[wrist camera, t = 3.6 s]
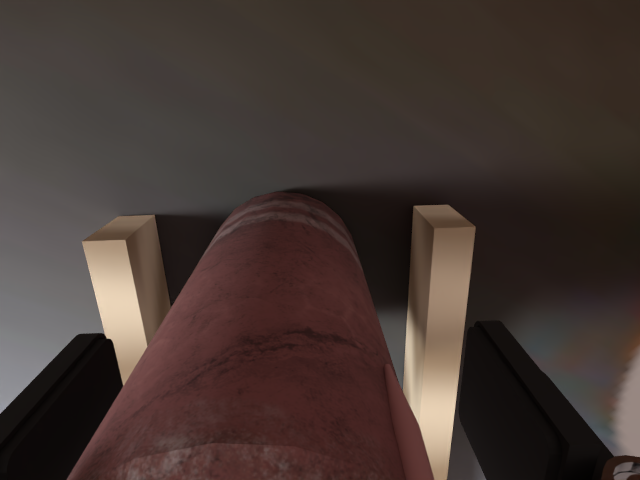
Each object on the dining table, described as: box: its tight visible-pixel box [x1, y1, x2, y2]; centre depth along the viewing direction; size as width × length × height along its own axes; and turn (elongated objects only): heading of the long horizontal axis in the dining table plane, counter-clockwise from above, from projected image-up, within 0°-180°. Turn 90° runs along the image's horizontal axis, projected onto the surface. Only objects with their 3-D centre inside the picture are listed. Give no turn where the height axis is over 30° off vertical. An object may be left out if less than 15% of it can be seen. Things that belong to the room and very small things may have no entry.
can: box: [67, 192, 435, 480], centre depth 11 cm, size 6×6×14 cm
